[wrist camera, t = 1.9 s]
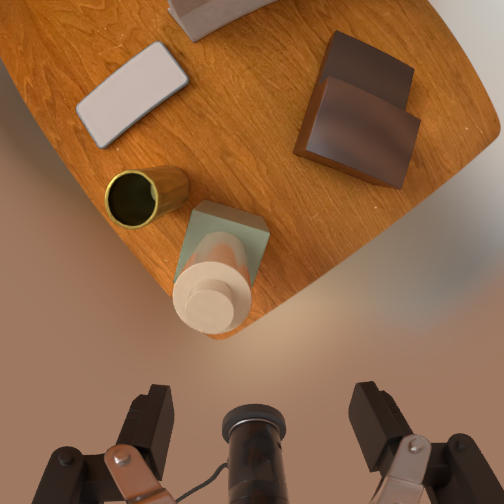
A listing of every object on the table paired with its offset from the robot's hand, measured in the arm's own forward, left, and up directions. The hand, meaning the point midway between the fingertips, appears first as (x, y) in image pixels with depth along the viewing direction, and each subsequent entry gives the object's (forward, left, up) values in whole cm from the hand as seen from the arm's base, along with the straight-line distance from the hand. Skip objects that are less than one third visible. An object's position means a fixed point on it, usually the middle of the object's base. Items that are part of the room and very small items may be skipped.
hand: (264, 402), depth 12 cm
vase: (+4, +12, -30) cm, 33 cm away
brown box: (+22, -8, -30) cm, 38 cm away
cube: (0, +3, -30) cm, 30 cm away
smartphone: (+15, +21, -30) cm, 39 cm away
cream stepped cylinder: (0, +3, -20) cm, 20 cm away
